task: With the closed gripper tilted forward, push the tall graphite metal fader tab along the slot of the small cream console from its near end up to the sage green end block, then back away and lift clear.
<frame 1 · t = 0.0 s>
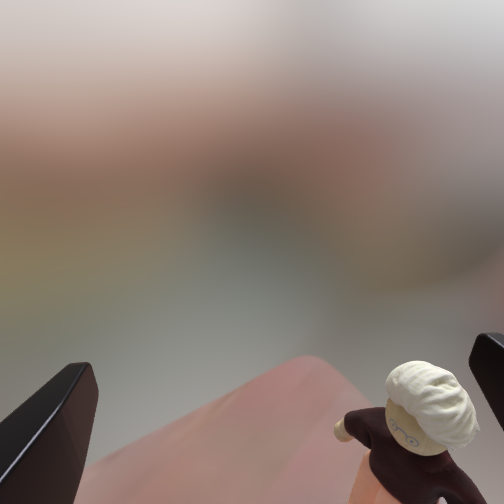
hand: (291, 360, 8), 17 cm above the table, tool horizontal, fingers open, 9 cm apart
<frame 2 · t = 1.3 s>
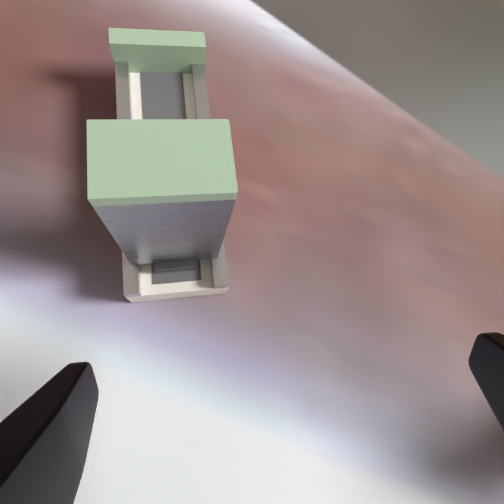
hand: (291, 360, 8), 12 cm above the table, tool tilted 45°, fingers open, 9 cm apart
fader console: (170, 181, 21), on the table
fader tab: (170, 211, 14), point 7 cm above the table, slide at 0.0 cm
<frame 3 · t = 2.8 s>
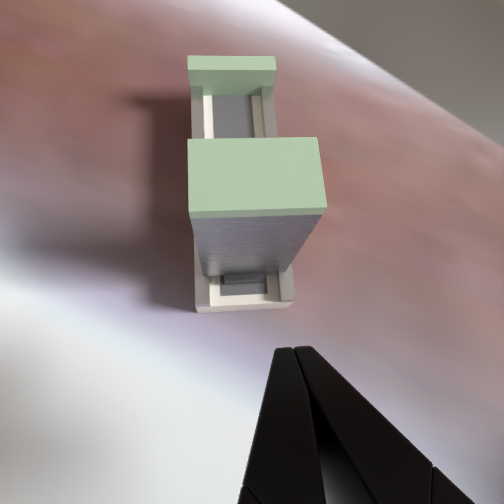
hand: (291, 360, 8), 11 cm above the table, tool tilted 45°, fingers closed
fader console: (236, 197, 22), on the table
fader tab: (247, 225, 14), point 6 cm above the table, slide at 0.0 cm
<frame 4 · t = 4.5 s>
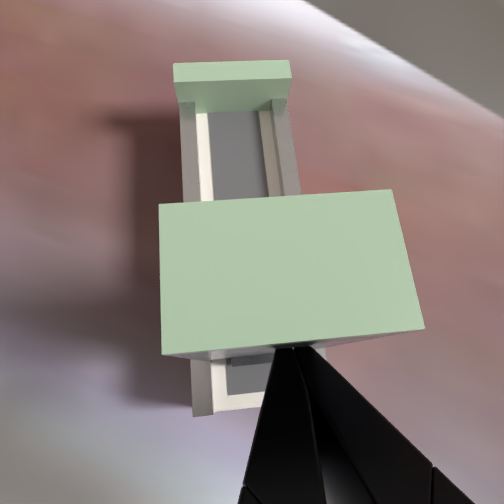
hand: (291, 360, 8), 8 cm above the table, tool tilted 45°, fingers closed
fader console: (243, 244, 17), on the table
fader tab: (264, 305, 10), point 7 cm above the table, slide at 0.5 cm, touching gripper
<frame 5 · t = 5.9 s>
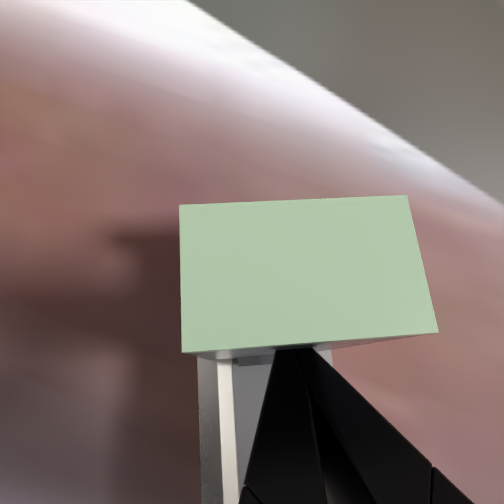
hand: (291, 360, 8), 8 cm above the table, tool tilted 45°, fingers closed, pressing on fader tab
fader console: (261, 393, 15), on the table
fader tab: (274, 306, 10), point 6 cm above the table, slide at 7.2 cm, touching gripper
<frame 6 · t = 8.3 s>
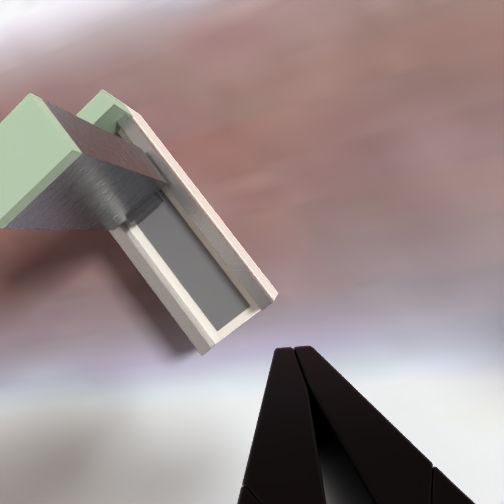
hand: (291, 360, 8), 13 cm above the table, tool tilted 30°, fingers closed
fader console: (177, 227, 22), on the table
fader tab: (88, 180, 16), point 7 cm above the table, slide at 7.0 cm
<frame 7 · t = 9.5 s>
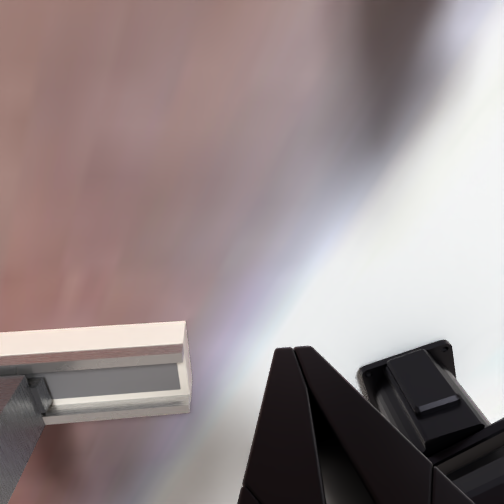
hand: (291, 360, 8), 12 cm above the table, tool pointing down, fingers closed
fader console: (79, 358, 23), on the table
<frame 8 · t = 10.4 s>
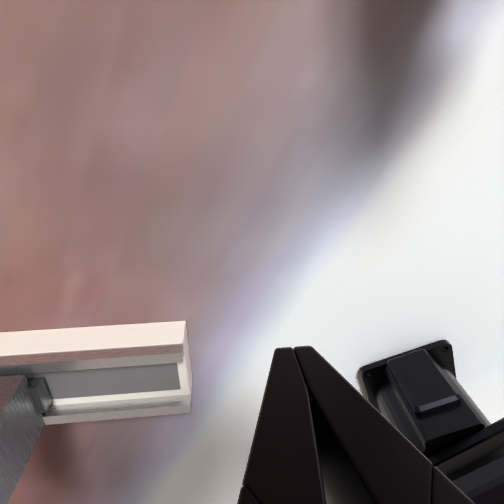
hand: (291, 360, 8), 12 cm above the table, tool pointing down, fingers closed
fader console: (79, 358, 23), on the table
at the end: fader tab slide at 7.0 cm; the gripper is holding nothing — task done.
